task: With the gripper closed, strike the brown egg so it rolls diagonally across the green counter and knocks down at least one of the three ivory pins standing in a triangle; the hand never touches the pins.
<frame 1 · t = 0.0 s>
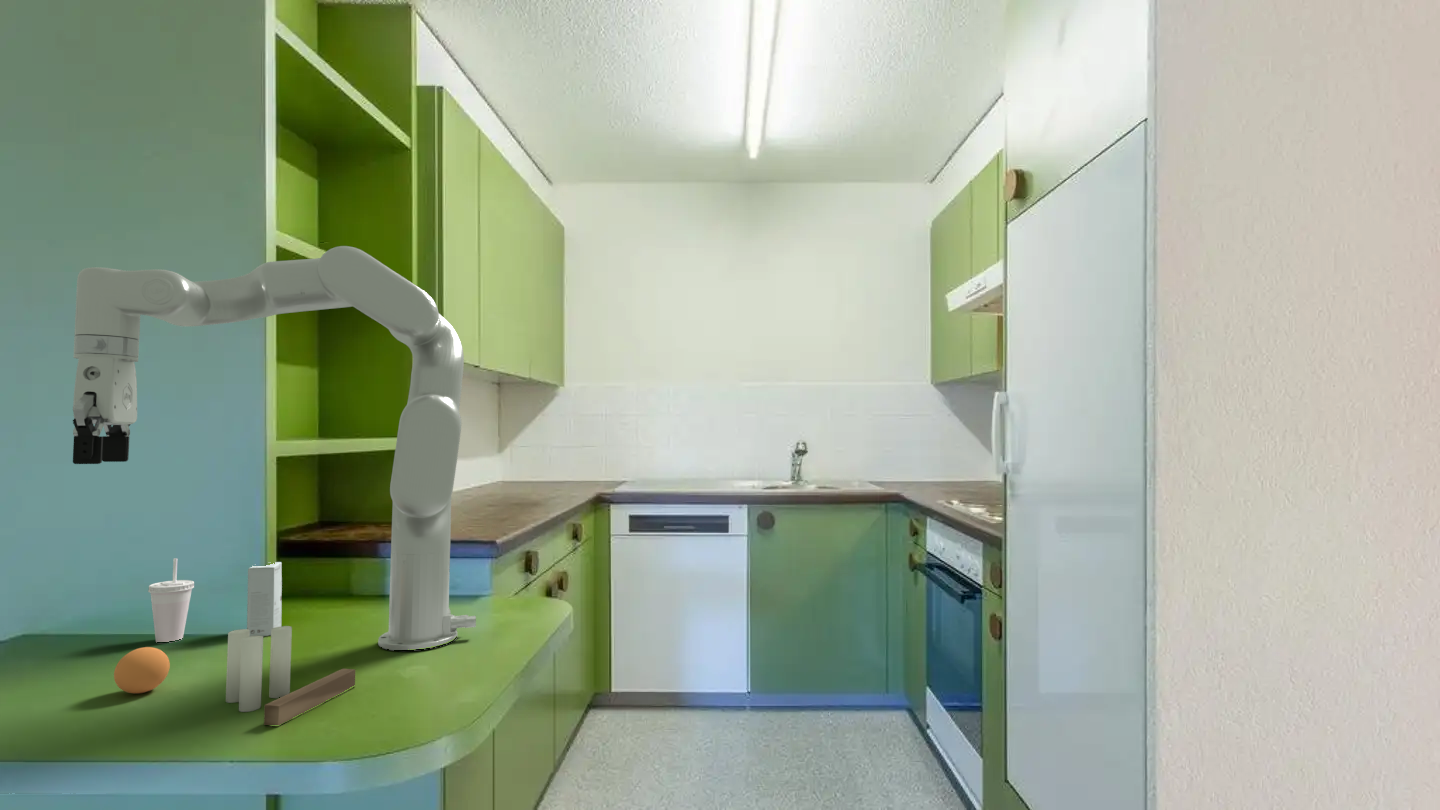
hand: (101, 462, 108), 31 cm above the worktop, tool pointing down, fingers open, 9 cm apart
smoothie: (169, 641, 123), on the worktop
brown wooden bar: (312, 705, 94), on the worktop
pin right: (279, 694, 98), on the worktop
pin left: (249, 708, 93), on the worktop
skincare box: (263, 633, 129), on the worktop
pin front: (236, 699, 96), on the worktop
brown egg: (142, 670, 98), on the worktop
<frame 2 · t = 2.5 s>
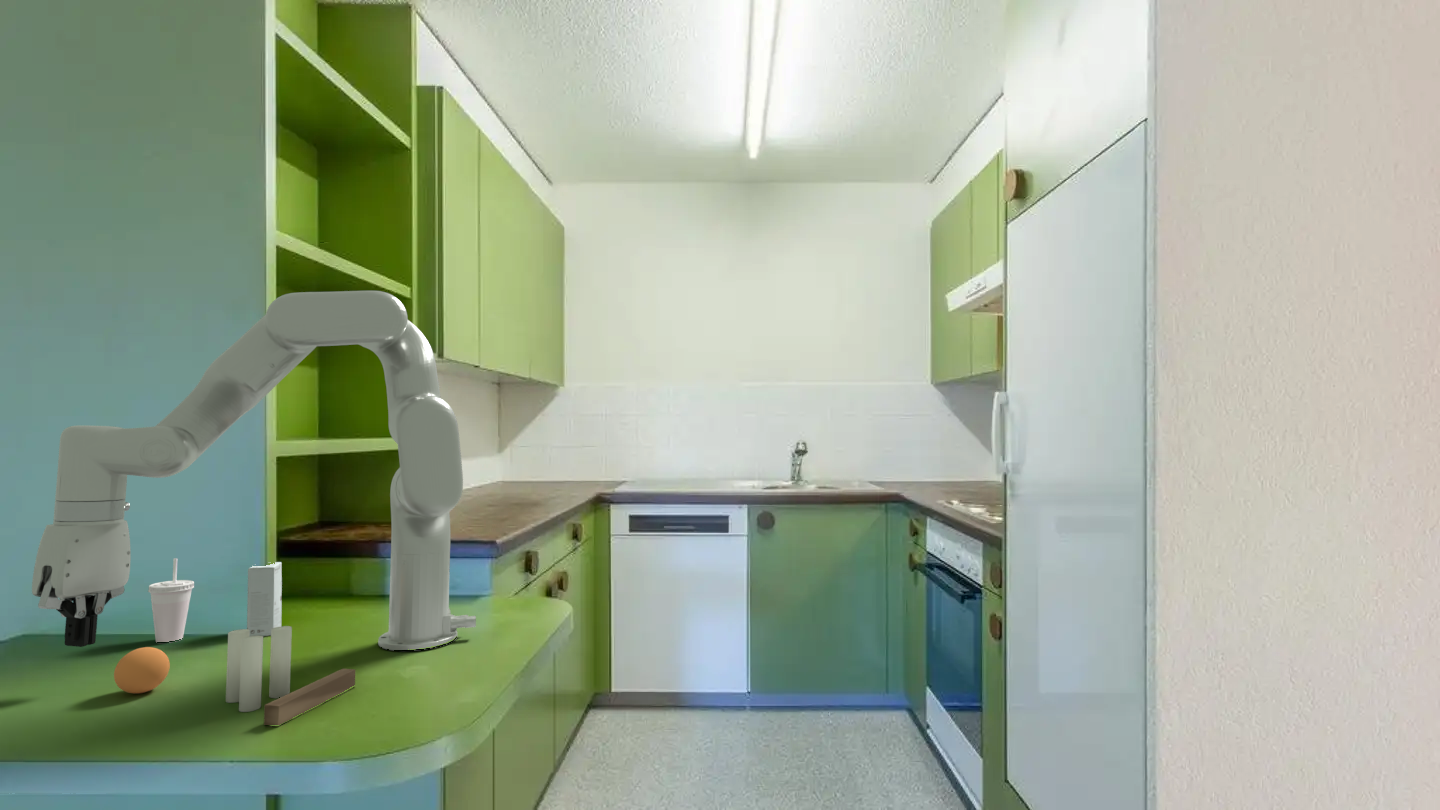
hand: (79, 644, 100), 6 cm above the worktop, tool pointing down, fingers closed
nothing on the worktop moved.
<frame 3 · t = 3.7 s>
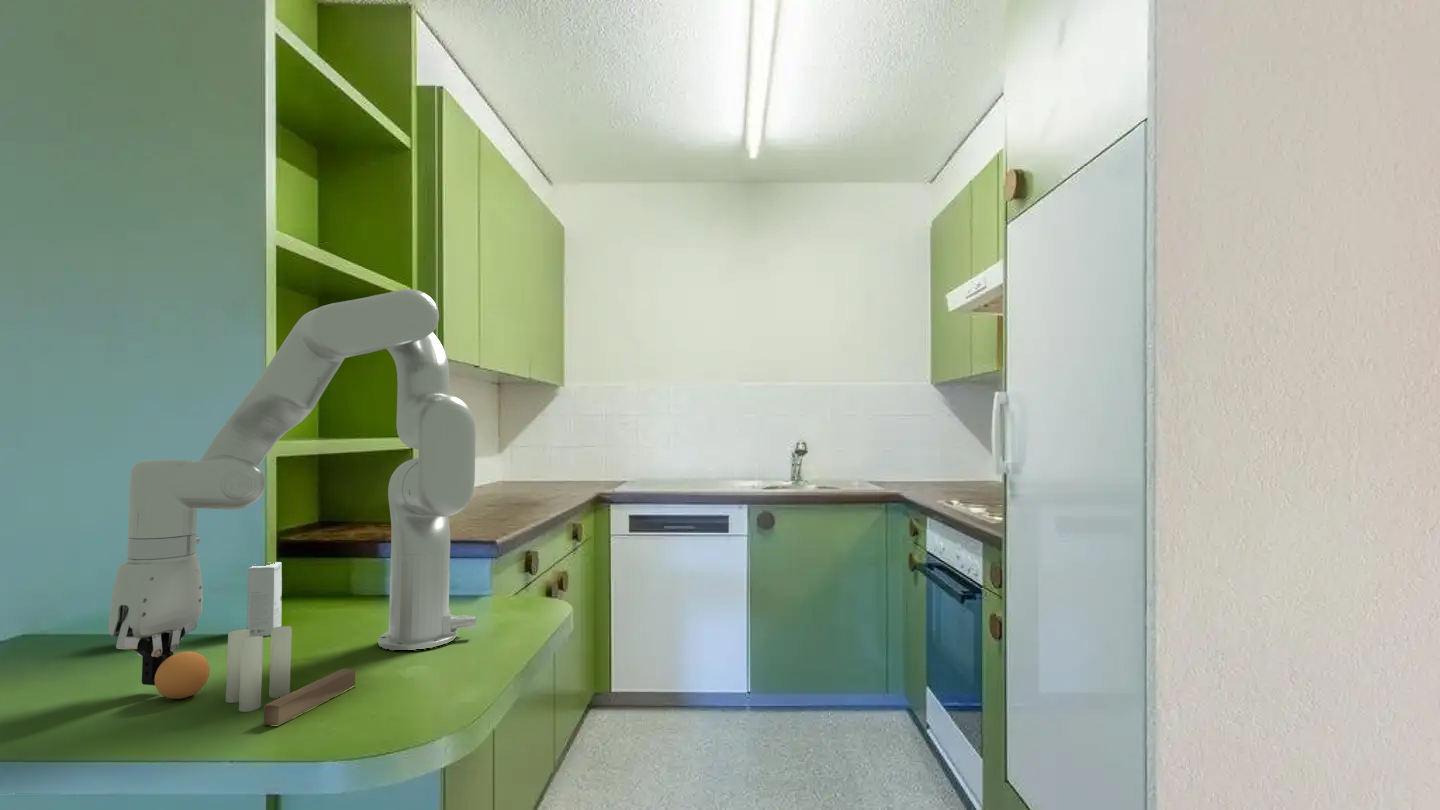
hand: (156, 682, 98), 1 cm above the worktop, tool pointing down, fingers closed
brown egg: (182, 674, 97), on the worktop
everything else where it was.
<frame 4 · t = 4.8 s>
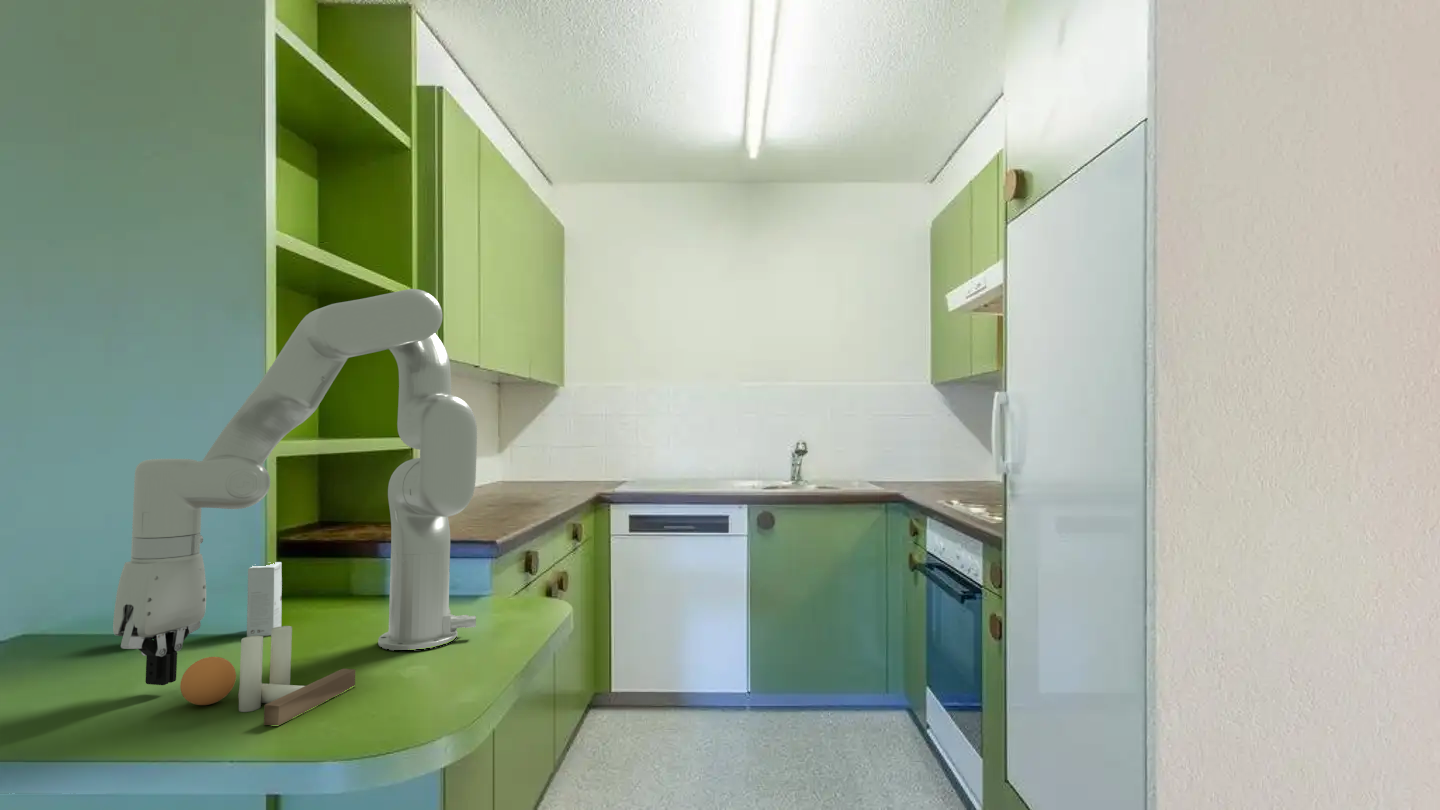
hand: (160, 682, 98), 2 cm above the worktop, tool pointing down, fingers closed
pin front: (245, 692, 96), point 1 cm above the worktop, tilted 90°
brown egg: (208, 680, 94), on the worktop
everything else where it was.
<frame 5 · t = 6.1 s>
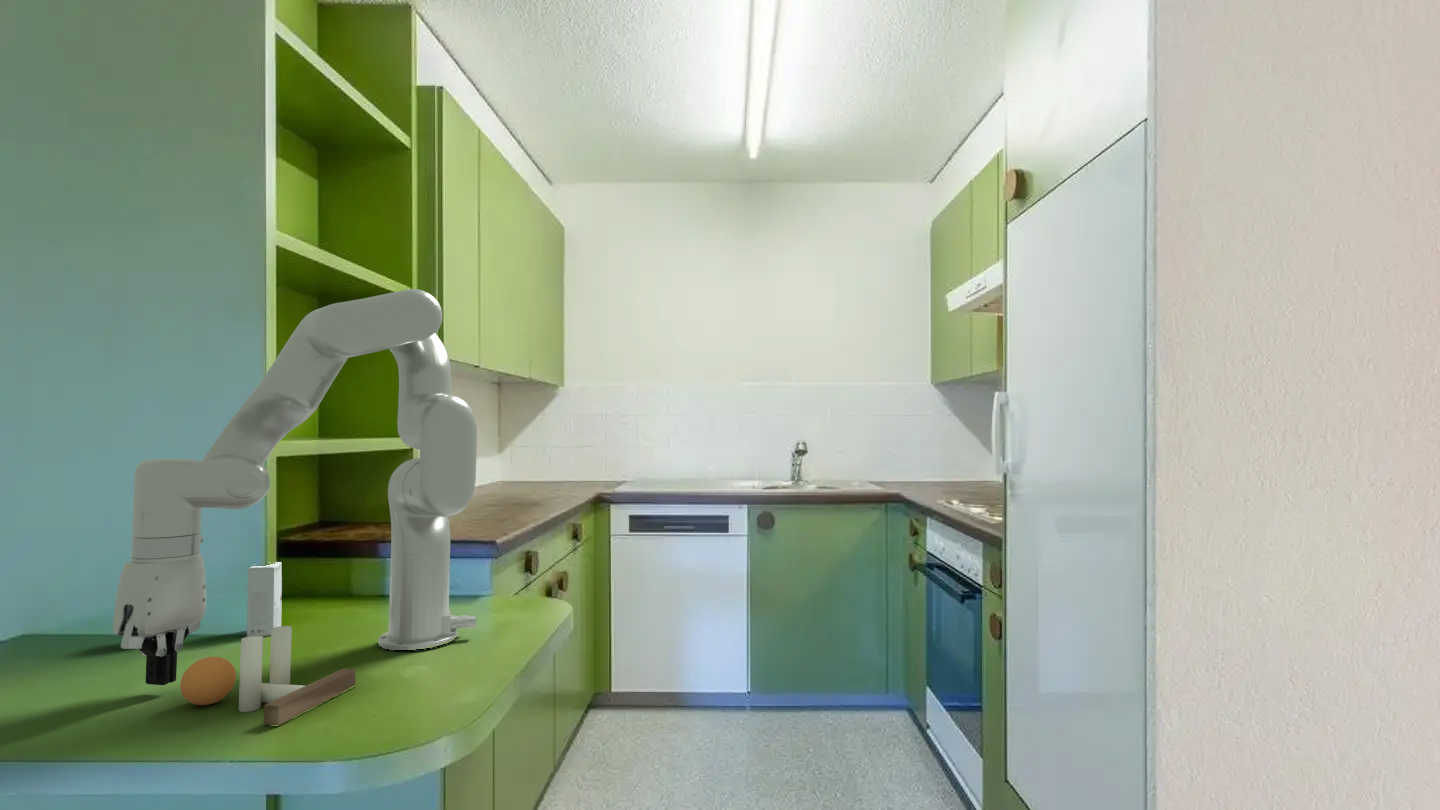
hand: (160, 682, 98), 2 cm above the worktop, tool pointing down, fingers closed
nothing on the worktop moved.
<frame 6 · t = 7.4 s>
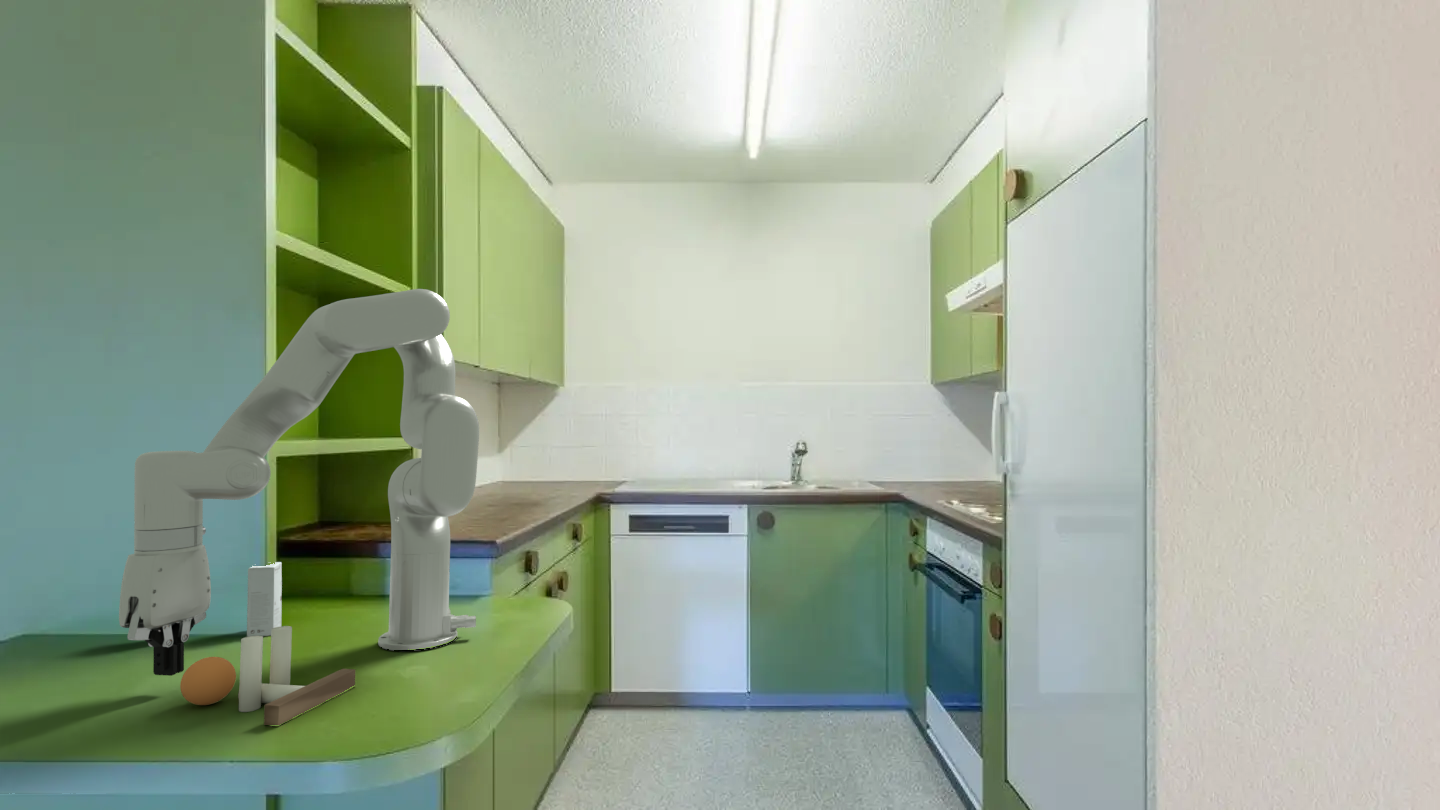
hand: (168, 672, 99), 3 cm above the worktop, tool pointing down, fingers closed
nothing on the worktop moved.
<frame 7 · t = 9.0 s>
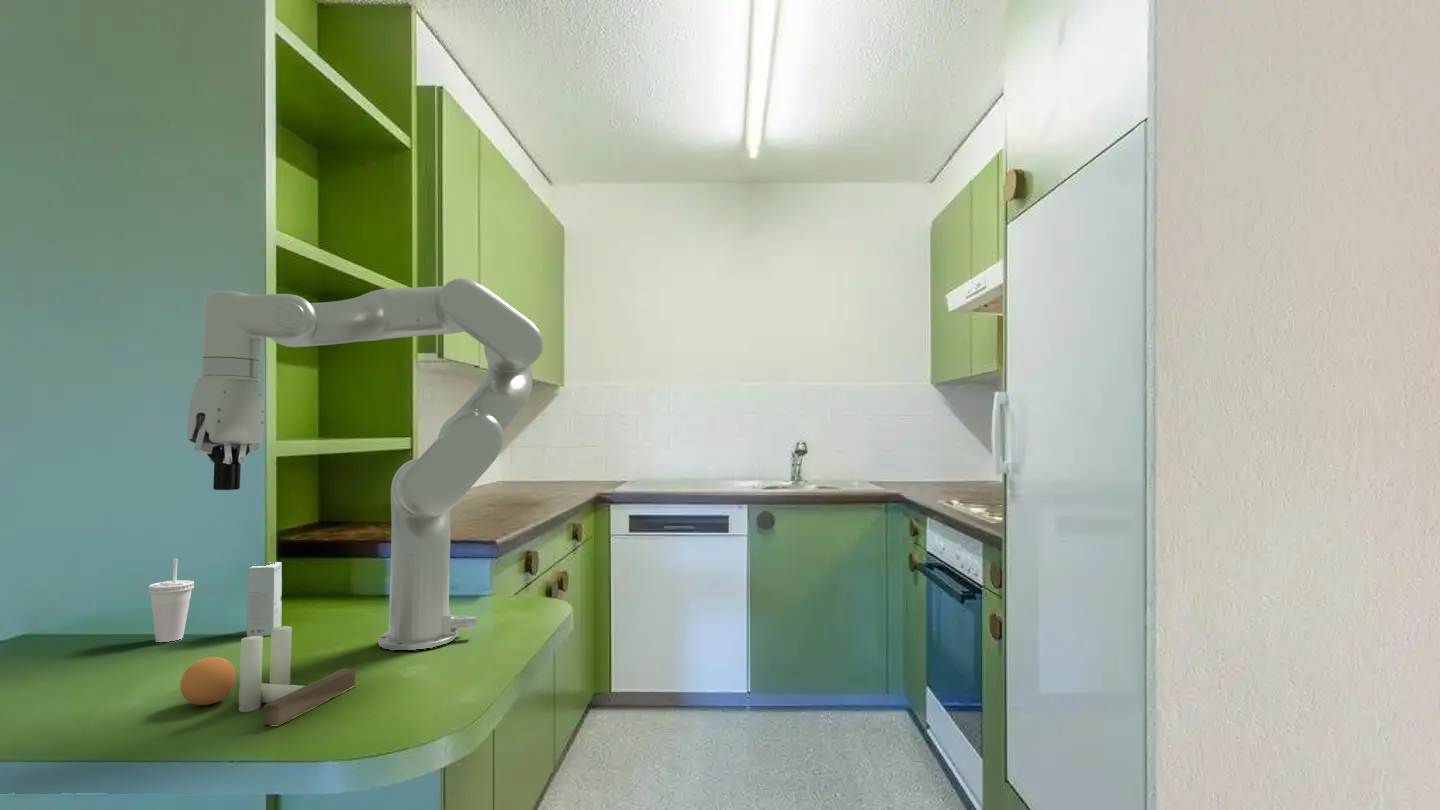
hand: (226, 489, 110), 27 cm above the worktop, tool pointing down, fingers closed
nothing on the worktop moved.
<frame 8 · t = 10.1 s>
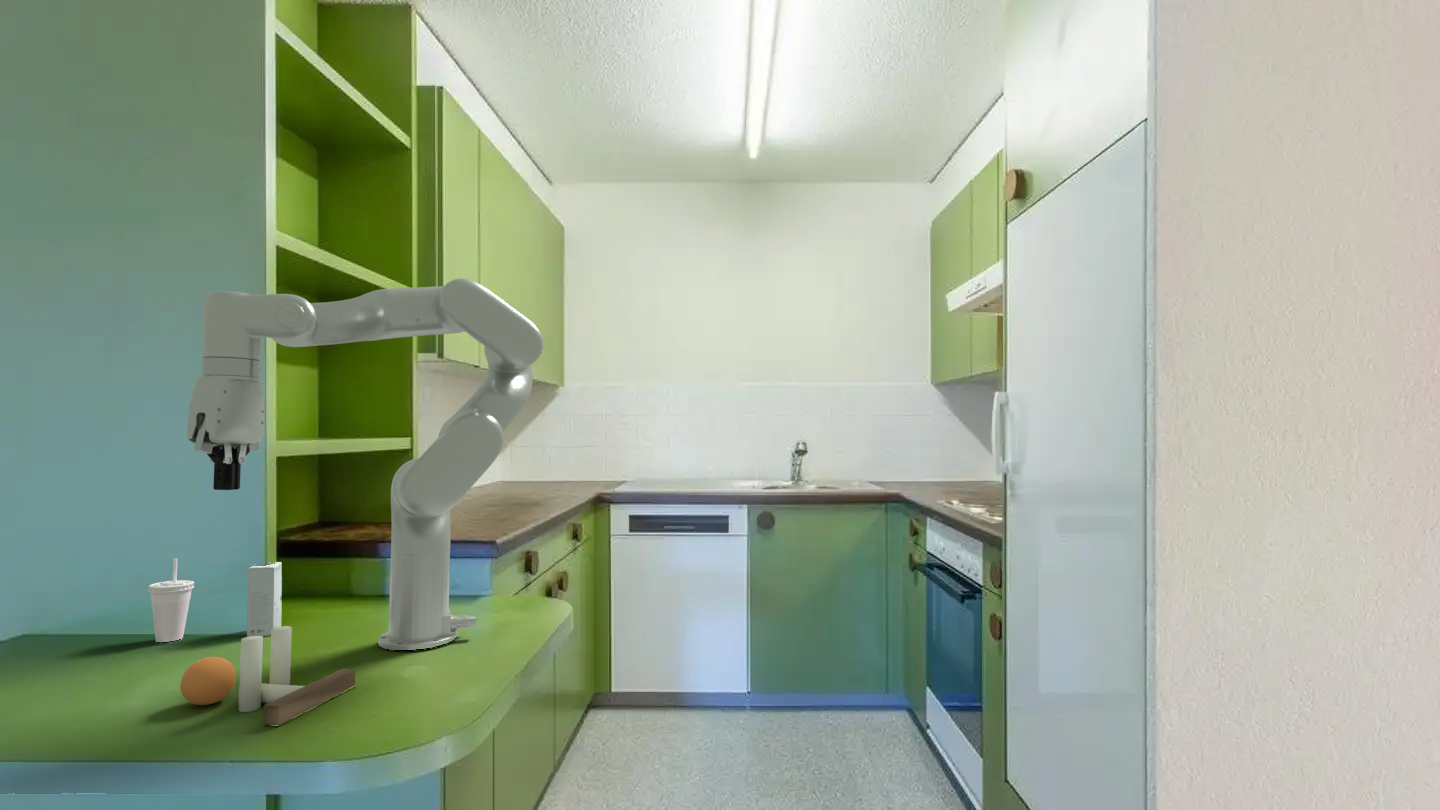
hand: (226, 489, 111), 27 cm above the worktop, tool pointing down, fingers closed
nothing on the worktop moved.
at the end: 1 of 3 knocked over (down: pin front; still standing: pin left, pin right); pin front never touched the robot; brown egg moved 12.8 cm from its start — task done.
